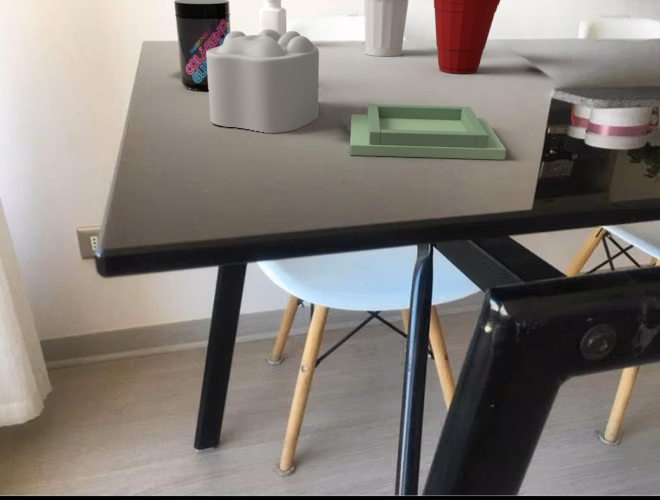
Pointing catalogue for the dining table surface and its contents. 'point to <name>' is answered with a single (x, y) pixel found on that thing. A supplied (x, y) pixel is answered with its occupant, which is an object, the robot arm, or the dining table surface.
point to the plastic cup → (462, 32)
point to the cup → (384, 26)
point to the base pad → (423, 133)
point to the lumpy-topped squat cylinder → (263, 81)
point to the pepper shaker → (272, 17)
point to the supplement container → (199, 36)
